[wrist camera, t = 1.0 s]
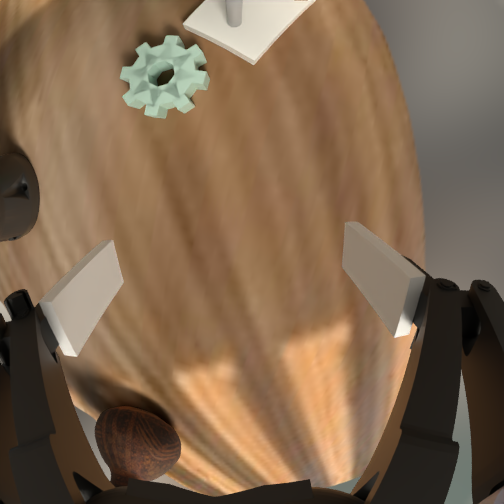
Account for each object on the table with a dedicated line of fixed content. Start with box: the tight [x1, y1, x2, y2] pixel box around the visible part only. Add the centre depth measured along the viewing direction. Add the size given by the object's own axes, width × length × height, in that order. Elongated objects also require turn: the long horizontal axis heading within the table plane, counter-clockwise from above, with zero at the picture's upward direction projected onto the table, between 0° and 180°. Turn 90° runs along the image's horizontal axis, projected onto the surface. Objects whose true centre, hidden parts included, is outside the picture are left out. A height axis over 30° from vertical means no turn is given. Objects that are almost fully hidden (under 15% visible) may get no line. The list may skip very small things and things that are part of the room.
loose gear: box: [120, 35, 210, 119], centre depth 26 cm, size 10×10×4 cm
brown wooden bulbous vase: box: [95, 406, 181, 488], centre depth 40 cm, size 22×22×30 cm
